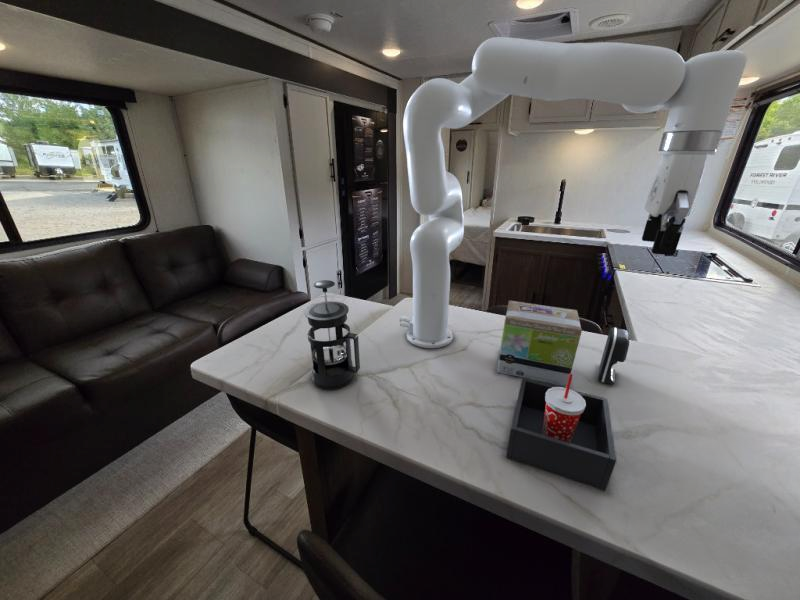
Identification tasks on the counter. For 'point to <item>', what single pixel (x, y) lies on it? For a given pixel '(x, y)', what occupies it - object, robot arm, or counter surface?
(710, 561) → the counter surface
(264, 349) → the counter surface
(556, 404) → the beverage cup
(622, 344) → the battery charger
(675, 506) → the counter surface
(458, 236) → the robot arm
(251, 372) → the counter surface
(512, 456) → the black open box
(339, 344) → the french press
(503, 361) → the tea box
